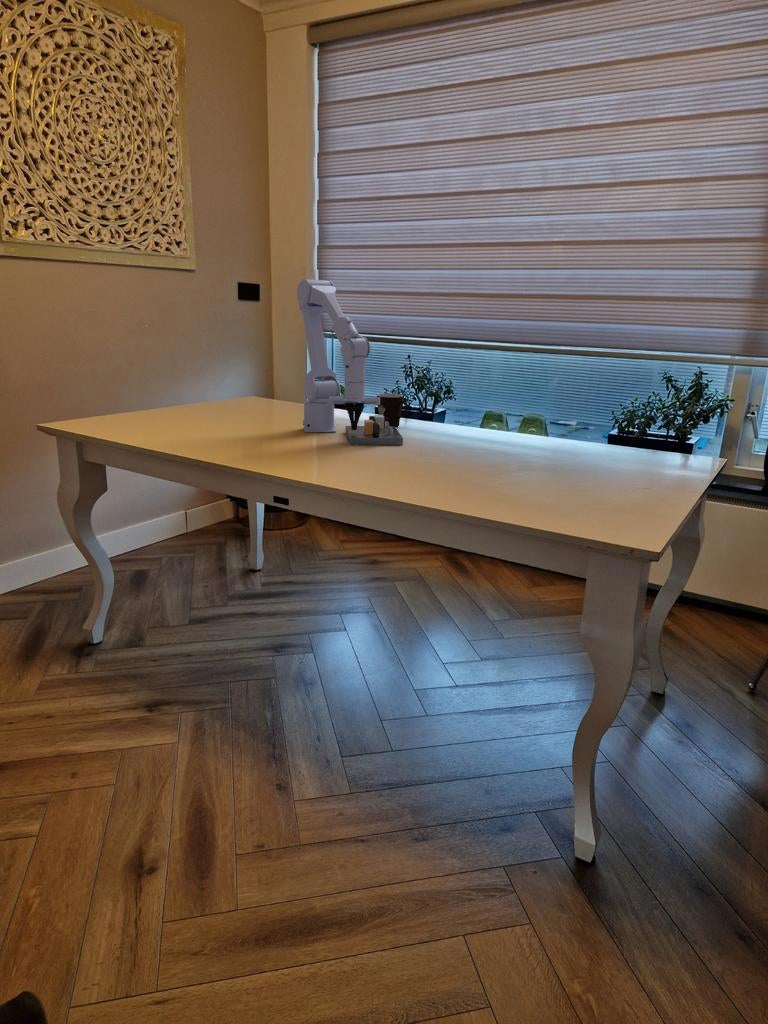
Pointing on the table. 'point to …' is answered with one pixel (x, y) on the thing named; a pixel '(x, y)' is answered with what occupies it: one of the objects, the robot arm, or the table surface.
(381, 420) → the toggle white
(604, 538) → the table surface
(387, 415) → the coffee mug
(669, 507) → the table surface
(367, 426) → the toggle orange
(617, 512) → the table surface
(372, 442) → the panel
